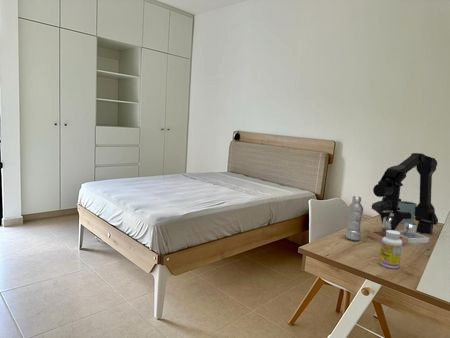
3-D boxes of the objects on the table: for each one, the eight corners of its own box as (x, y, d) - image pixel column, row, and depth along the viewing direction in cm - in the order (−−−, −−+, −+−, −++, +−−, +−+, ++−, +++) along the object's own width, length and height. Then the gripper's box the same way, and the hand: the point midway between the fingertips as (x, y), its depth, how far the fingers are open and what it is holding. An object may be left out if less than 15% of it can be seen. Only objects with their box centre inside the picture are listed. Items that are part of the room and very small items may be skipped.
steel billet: (388, 230, 148) (390, 215, 147) (396, 233, 143) (398, 218, 142) (379, 230, 147) (381, 215, 146) (387, 233, 142) (388, 218, 141)
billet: (409, 236, 151) (410, 222, 150) (417, 240, 146) (419, 225, 145) (400, 236, 150) (402, 222, 149) (408, 240, 145) (410, 225, 144)
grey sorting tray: (409, 236, 155) (410, 230, 155) (430, 244, 143) (430, 238, 143) (367, 237, 150) (367, 231, 149) (385, 246, 138) (385, 239, 138)
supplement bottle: (375, 261, 119) (379, 228, 118) (392, 261, 120) (395, 229, 119) (386, 269, 113) (390, 234, 111) (403, 269, 113) (407, 235, 112)
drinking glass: (413, 226, 174) (416, 205, 173) (393, 222, 180) (395, 202, 178) (414, 222, 183) (417, 202, 181) (395, 219, 188) (397, 199, 187)
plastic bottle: (359, 238, 147) (363, 196, 144) (360, 243, 140) (365, 199, 138) (344, 236, 149) (349, 195, 146) (345, 240, 142) (349, 197, 140)
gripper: (363, 191, 150) (360, 223, 152) (392, 200, 132) (388, 235, 134) (383, 191, 153) (380, 223, 154) (414, 200, 134) (410, 235, 136)
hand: (388, 228), depth 145 cm, fingers closed on steel billet, 5 cm apart
